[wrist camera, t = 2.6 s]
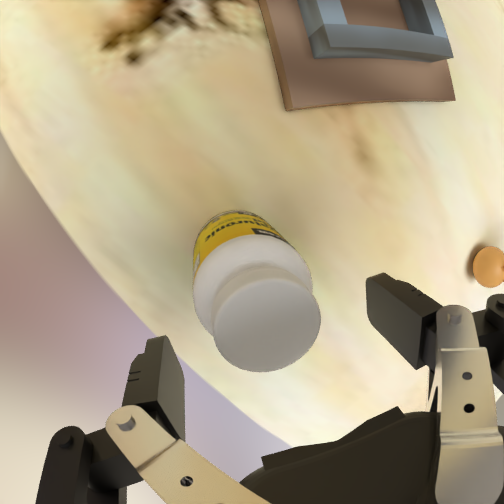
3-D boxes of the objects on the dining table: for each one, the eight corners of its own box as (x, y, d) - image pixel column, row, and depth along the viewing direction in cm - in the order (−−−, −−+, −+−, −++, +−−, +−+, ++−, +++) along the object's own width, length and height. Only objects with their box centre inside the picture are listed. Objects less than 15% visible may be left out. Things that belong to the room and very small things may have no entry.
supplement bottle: (280, 210, 20) (352, 261, 10) (272, 288, 21) (324, 381, 12) (194, 206, 19) (193, 259, 9) (192, 288, 20) (195, 390, 11)
